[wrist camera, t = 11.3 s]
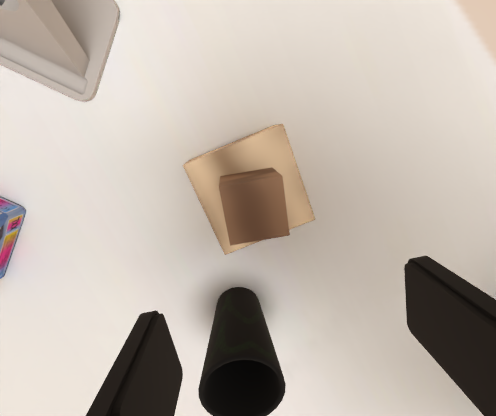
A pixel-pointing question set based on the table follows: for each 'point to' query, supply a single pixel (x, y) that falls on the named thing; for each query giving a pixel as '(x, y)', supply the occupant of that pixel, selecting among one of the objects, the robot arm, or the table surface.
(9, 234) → the ink cartridge box
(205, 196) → the oak block
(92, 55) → the phone holder
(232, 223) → the walnut cube
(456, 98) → the table surface
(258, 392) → the cup
